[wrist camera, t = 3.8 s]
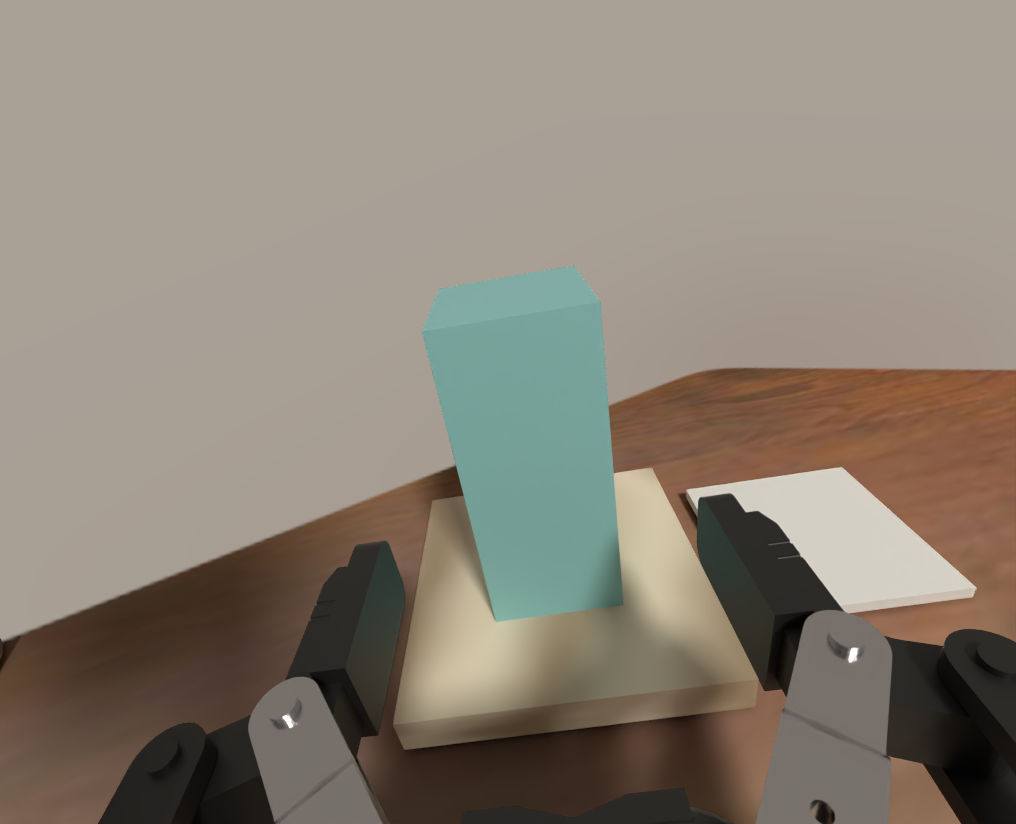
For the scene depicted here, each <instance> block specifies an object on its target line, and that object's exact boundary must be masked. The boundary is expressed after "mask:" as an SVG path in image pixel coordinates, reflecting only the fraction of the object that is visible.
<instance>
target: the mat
mask: <svg viewBox="0 0 1016 824" xmlns="http://www.w3.org/2000/svg"><path fill="white" fill-rule="evenodd" d="M727 493H731V494H733V495H734V496H735V498H736V499H737V501H738V502H739V503H740V505H741V506H742V508H743V509H744V511H745V512H752V511H759V512H761V513H762V514H764V515H765V516H767V517H768V518H770V519H771V520H773V521H774V522H776V523H777V524H778V525H779V526H780V528H781V529H782V530H783V532H784V533H785V534H786V536H787V537H788V538H789V540H790V543H792V544H793V545H794V546H795V547H796V549H797V550H798V551H799V553H800V556H801V557H803V558H804V559H805V561H806V562H807V563H808V565H809V566H810V567H811V568H812V570H813V571H814V572H815V574H816V575H817V576H818V578H819V579H820V580H821V582H822V583H823V584H824V586H825V587H826V588H827V589H828V591H829V592H830V593H831V595H832V596H833V597H834V599H835V600H836V601H837V603H838V604H839V605H840V606H841V608H842V609H843V610H844V611H845V612H847V613H854V612H862V611H870V610H877V609H885V608H893V607H900V606H908V605H915V604H923V603H931V602H938V601H946V600H954V599H961V598H969V597H973V595H974V592H975V590H976V587H975V586H974V585H973V584H972V583H971V582H970V581H968V580H967V579H966V578H965V577H964V576H963V575H962V574H961V573H959V572H958V571H957V570H956V569H955V568H954V567H953V566H952V565H951V564H949V563H948V562H947V561H946V560H945V559H944V558H943V557H942V556H940V555H939V554H938V553H937V552H936V551H935V550H934V549H933V548H931V547H930V546H929V545H928V544H927V543H926V542H925V541H924V540H923V539H921V538H920V537H919V536H918V535H917V534H916V533H915V532H914V531H912V530H911V529H910V528H909V527H908V526H907V525H906V524H905V523H904V522H902V521H901V520H900V519H899V518H898V517H897V516H896V515H895V514H893V513H892V512H891V511H890V510H889V509H888V508H887V507H886V506H885V505H883V504H882V503H881V502H880V501H879V500H878V499H877V498H876V497H874V496H873V495H872V494H871V493H870V492H869V491H868V490H867V489H865V488H864V487H863V486H862V485H861V484H860V483H859V482H858V481H857V480H855V479H854V478H853V477H852V476H851V475H850V474H849V473H848V472H846V471H845V470H844V469H843V468H842V467H839V468H832V469H826V470H819V471H812V472H805V473H798V474H791V475H784V476H777V477H771V478H764V479H757V480H750V481H743V482H736V483H729V484H723V485H716V486H709V487H702V488H695V489H688V490H686V498H687V500H688V502H689V503H690V505H691V507H692V509H693V511H694V512H695V514H696V516H697V518H698V500H699V498H700V497H706V496H713V495H720V494H727Z"/></svg>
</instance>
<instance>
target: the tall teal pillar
mask: <svg viewBox="0 0 1016 824" xmlns="http://www.w3.org/2000/svg"><path fill="white" fill-rule="evenodd" d="M601 317H602V316H601V303H600V300H599V299H598V298H597V296H596V295H595V294H594V292H593V291H592V290H591V288H590V287H589V285H588V284H587V283H586V281H585V280H584V279H583V277H582V276H581V275H580V273H579V272H578V270H577V269H576V268H575V266H569V267H563V268H557V269H551V270H546V271H540V272H534V273H528V274H522V275H516V276H510V277H505V278H499V279H493V280H487V281H481V282H476V283H470V284H464V285H458V286H452V287H446V288H440V289H439V291H438V293H437V296H436V299H435V301H434V303H433V306H432V308H431V311H430V313H429V315H428V318H427V320H426V323H425V325H424V328H423V330H422V333H423V337H424V341H425V345H426V349H427V353H428V357H429V361H430V365H431V368H432V373H433V376H434V381H435V385H436V389H437V392H438V396H439V400H440V404H441V408H442V412H443V416H444V420H445V424H446V427H447V431H448V435H449V440H450V443H451V447H452V451H453V455H454V459H455V463H456V467H457V471H458V475H459V479H460V483H461V487H462V491H463V494H464V498H465V502H466V506H467V510H468V514H469V518H470V522H471V526H472V530H473V534H474V538H475V542H476V545H477V549H478V553H479V557H480V561H481V565H482V569H483V573H484V577H485V581H486V585H487V589H488V593H489V596H490V600H491V604H492V608H493V612H494V616H495V620H496V622H501V621H508V620H516V619H523V618H531V617H538V616H546V615H553V614H561V613H568V612H575V611H583V610H590V609H598V608H605V607H613V606H620V605H624V604H623V591H622V578H621V565H620V552H619V539H618V526H617V513H616V499H615V486H614V473H613V460H612V447H611V434H610V421H609V408H608V396H607V382H606V371H605V370H606V369H605V356H604V343H603V331H602V318H601Z"/></svg>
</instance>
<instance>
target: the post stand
mask: <svg viewBox="0 0 1016 824" xmlns="http://www.w3.org/2000/svg"><path fill="white" fill-rule="evenodd" d="M614 486H615V499H616V513H617V526H618V539H619V552H620V565H621V578H622V591H623V604H624V605H620V606H613V607H605V608H598V609H590V610H583V611H575V612H568V613H561V614H553V615H546V616H538V617H531V618H523V619H516V620H508V621H501V622H496V620H495V616H494V612H493V608H492V604H491V600H490V596H489V593H488V589H487V585H486V581H485V577H484V573H483V569H482V565H481V561H480V557H479V553H478V549H477V545H476V542H475V538H474V534H473V530H472V526H471V522H470V518H469V514H468V510H467V506H466V502H465V498H464V496H458V497H451V498H445V499H438V500H433V501H432V506H431V512H430V518H429V523H428V529H427V534H426V540H425V546H424V551H423V557H422V563H421V568H420V574H419V579H418V585H417V591H416V596H415V602H414V608H413V613H412V619H411V624H410V630H409V636H408V641H407V647H406V652H405V658H404V664H403V669H402V675H401V681H400V686H399V692H398V697H397V703H396V709H395V714H394V720H393V727H394V729H395V731H396V733H397V735H398V737H399V740H400V742H401V744H402V746H403V748H404V750H408V749H416V748H424V747H433V746H441V745H449V744H457V743H465V742H474V741H482V740H490V739H498V738H507V737H515V736H523V735H531V734H539V733H548V732H556V731H564V730H572V729H580V728H589V727H597V726H605V725H613V724H621V723H630V722H638V721H646V720H654V719H662V718H671V717H679V716H687V715H695V714H703V713H712V712H720V711H728V710H736V709H744V708H753V707H755V706H756V698H757V689H758V681H759V679H758V677H757V675H756V673H755V671H754V669H753V667H752V665H751V663H750V661H749V659H748V657H747V655H746V653H745V651H744V649H743V647H742V645H741V643H740V641H739V639H738V637H737V635H736V633H735V631H734V629H733V627H732V625H731V623H730V621H729V619H728V618H727V616H726V614H725V612H724V610H723V608H722V606H721V604H720V602H719V600H718V598H717V596H716V594H715V592H714V590H713V588H712V586H711V584H710V582H709V580H708V578H707V576H706V574H705V572H704V570H703V568H702V566H701V564H700V562H699V560H698V558H697V556H696V554H695V552H694V550H693V548H692V546H691V544H690V543H689V541H688V539H687V537H686V535H685V533H684V531H683V529H682V527H681V525H680V523H679V521H678V519H677V517H676V515H675V513H674V511H673V509H672V507H671V505H670V503H669V501H668V499H667V497H666V495H665V493H664V491H663V489H662V487H661V485H660V483H659V481H658V479H657V477H656V475H655V473H654V471H653V469H652V468H647V469H640V470H633V471H626V472H620V473H614Z"/></svg>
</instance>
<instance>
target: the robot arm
mask: <svg viewBox="0 0 1016 824" xmlns="http://www.w3.org/2000/svg"><path fill="white" fill-rule="evenodd" d="M697 548H698V554H699V558H700V561H701V564H702V567H703V569H704V571H705V573H706V575H707V577H708V579H709V581H710V583H711V585H712V587H713V589H714V591H715V593H716V595H717V597H718V599H719V601H720V603H721V605H722V607H723V609H724V611H725V613H726V615H727V617H728V619H729V621H730V623H731V625H732V627H733V629H734V631H735V633H736V635H737V637H738V639H739V641H740V643H741V645H742V647H743V649H744V651H745V653H746V655H747V657H748V659H749V661H750V663H751V665H752V667H753V669H754V671H755V673H756V675H757V677H758V679H759V681H760V683H761V685H762V687H763V689H764V691H771V690H779V689H782V690H783V692H784V694H785V696H786V698H787V699H786V703H785V707H784V709H783V711H782V715H781V719H780V723H779V727H778V731H777V735H776V740H775V744H774V748H773V752H772V757H771V761H770V765H769V769H768V774H767V778H766V782H765V786H764V791H763V795H762V799H761V803H760V808H759V812H758V816H757V820H756V824H888V817H889V800H890V783H891V761H890V758H889V757H888V756H891V757H895V758H900V759H904V760H909V761H913V762H918V763H923V765H924V766H925V768H926V769H927V771H928V772H929V774H930V775H931V777H932V779H933V780H934V782H935V783H936V785H937V786H938V788H939V790H940V791H941V793H942V794H943V796H944V797H945V799H946V801H947V802H948V804H949V805H950V807H951V808H952V810H953V811H954V813H955V815H956V816H957V818H958V819H959V821H960V822H961V824H1016V642H1014V641H1012V640H1010V639H1008V638H1005V637H1003V636H1001V635H998V634H995V633H991V632H987V631H983V630H976V629H964V630H958V631H955V632H953V633H951V634H950V635H949V636H948V637H947V638H946V640H945V643H944V645H943V646H938V645H932V644H925V643H918V642H911V641H905V640H899V639H894V638H890V637H886V636H883V634H882V633H881V632H880V631H879V630H878V629H877V628H875V627H874V626H873V625H872V624H870V623H869V622H867V621H865V620H864V619H862V618H860V617H858V616H855V615H853V614H850V613H847V612H845V611H844V610H843V609H842V608H841V606H840V605H839V604H838V603H837V601H836V600H835V599H834V597H833V596H832V595H831V593H830V592H829V591H828V589H827V588H826V587H825V586H824V584H823V583H822V582H821V580H820V579H819V578H818V576H817V575H816V574H815V572H814V571H813V570H812V568H811V567H810V566H809V565H808V563H807V562H806V561H805V559H804V558H803V557H801V556H800V553H799V551H798V550H797V549H796V547H795V546H794V545H793V544H792V543H790V540H789V538H788V537H787V536H786V534H785V533H784V532H783V530H782V529H781V528H780V526H779V525H778V524H777V523H776V522H774V521H773V520H771V519H770V518H768V517H767V516H765V515H764V514H762V513H761V512H759V511H752V512H745V511H744V509H743V508H742V506H741V505H740V503H739V502H738V501H737V499H736V498H735V496H734V495H733V494H731V493H727V494H720V495H713V496H706V497H700V498H699V500H698V521H697ZM404 603H405V593H404V586H403V582H402V579H401V576H400V573H399V570H398V568H397V565H396V562H395V559H394V557H393V554H392V551H391V548H390V546H389V544H388V542H387V541H380V542H373V543H365V544H358V545H356V546H355V548H354V550H353V553H352V556H351V559H350V561H349V564H348V567H340V568H337V569H336V571H335V572H334V573H333V574H332V575H331V577H330V578H329V579H328V580H327V581H326V582H325V584H324V585H323V588H322V590H321V593H320V595H319V598H318V600H317V606H315V608H314V610H313V613H312V615H311V621H309V623H308V625H307V628H306V630H305V633H304V635H303V638H302V640H301V643H300V645H299V648H298V650H297V653H296V655H295V658H294V660H293V663H292V665H291V668H290V670H289V673H288V675H287V677H286V680H285V681H283V682H281V683H280V684H278V685H276V686H275V687H273V688H272V689H271V690H270V691H269V692H267V693H266V694H265V695H264V696H263V697H262V699H261V700H260V701H259V702H258V704H257V705H256V707H255V709H254V710H253V712H252V715H250V716H248V717H246V718H244V719H241V720H239V721H237V722H235V723H232V724H230V725H228V726H225V727H223V728H221V729H218V730H216V731H214V732H212V733H209V734H206V732H205V731H204V730H203V729H202V727H200V726H199V725H197V724H195V723H183V724H179V725H176V726H174V727H171V728H169V729H167V730H165V731H164V732H162V733H161V734H159V735H158V736H156V737H155V738H154V739H153V740H151V741H150V742H149V743H148V744H147V745H146V746H145V747H144V748H143V749H142V750H141V751H140V752H139V754H138V755H137V756H136V758H135V759H134V760H133V762H132V763H131V765H130V767H129V768H128V770H127V772H126V774H125V776H124V778H123V779H122V781H121V783H120V785H119V787H118V788H117V790H116V792H115V794H114V796H113V798H112V799H111V801H110V803H109V805H108V807H107V808H106V810H105V812H104V814H103V816H102V818H101V819H100V821H99V823H98V824H390V823H389V821H388V818H387V816H386V814H385V812H384V810H383V808H382V806H381V804H380V802H379V800H378V798H377V796H376V794H375V792H374V790H373V788H372V786H371V784H370V782H369V779H368V777H367V775H366V773H365V771H364V769H363V767H362V765H361V763H360V761H359V759H358V757H357V753H358V749H359V745H360V740H361V737H367V736H376V735H378V734H379V729H380V724H381V719H382V714H383V709H384V704H385V699H386V694H387V689H388V684H389V679H390V674H391V669H392V664H393V659H394V655H395V650H396V645H397V640H398V635H399V630H400V625H401V620H402V615H403V610H404ZM2 655H3V642H2V641H1V639H0V660H1V657H2ZM461 824H734V823H732V822H731V821H729V820H727V819H725V818H723V817H721V816H718V815H716V814H714V813H711V812H708V811H706V810H703V809H700V808H695V807H690V806H689V803H688V800H687V796H686V793H685V789H684V788H678V789H669V790H659V791H650V792H641V793H632V794H627V795H625V796H623V797H620V798H618V799H616V800H614V801H611V802H609V803H607V804H605V805H602V806H600V807H598V808H596V809H593V810H591V811H589V812H587V813H584V814H582V815H580V816H577V817H565V816H560V815H556V814H551V813H546V812H541V811H536V810H532V809H527V808H522V807H517V806H512V807H503V808H494V809H485V810H476V811H466V812H462V822H461Z"/></svg>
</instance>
